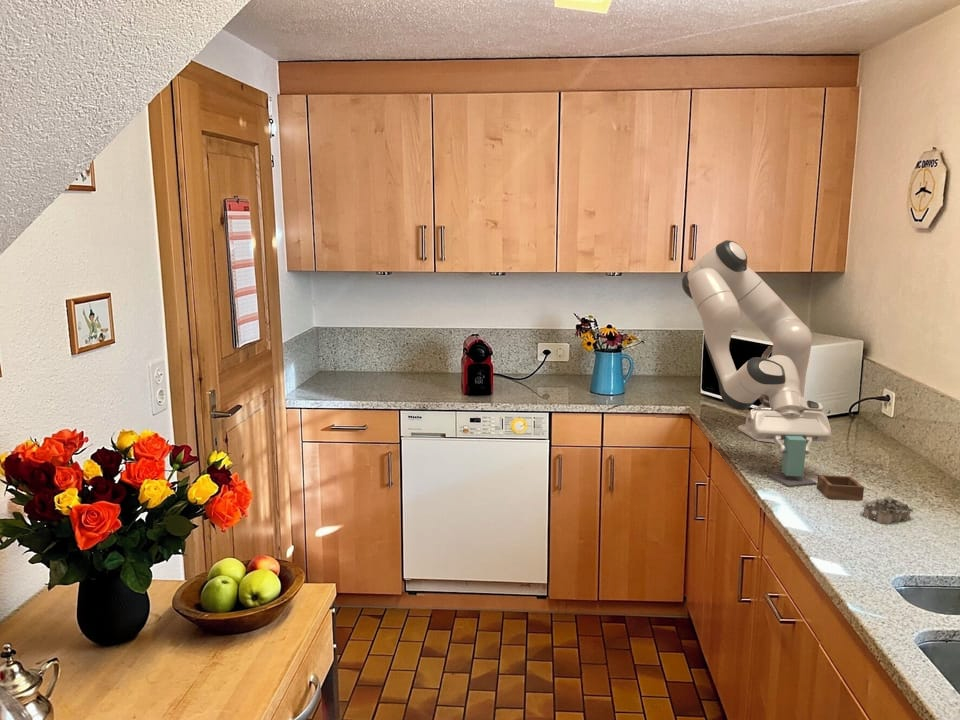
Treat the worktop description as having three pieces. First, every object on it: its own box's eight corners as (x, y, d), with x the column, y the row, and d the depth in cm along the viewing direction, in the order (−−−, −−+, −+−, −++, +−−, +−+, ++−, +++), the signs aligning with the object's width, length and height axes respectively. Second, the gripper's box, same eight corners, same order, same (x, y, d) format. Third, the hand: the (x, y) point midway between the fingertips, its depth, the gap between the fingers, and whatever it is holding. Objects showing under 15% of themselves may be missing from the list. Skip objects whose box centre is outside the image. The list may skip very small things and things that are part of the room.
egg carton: (883, 526, 177) (885, 510, 177) (856, 515, 184) (858, 499, 183) (916, 520, 182) (918, 504, 181) (888, 509, 188) (890, 493, 188)
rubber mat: (766, 476, 210) (766, 474, 210) (793, 473, 213) (793, 471, 213) (788, 487, 202) (789, 485, 202) (816, 484, 205) (816, 482, 204)
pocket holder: (816, 487, 202) (818, 474, 202) (849, 489, 201) (851, 476, 201) (828, 498, 194) (829, 485, 193) (862, 500, 193) (864, 487, 193)
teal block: (781, 470, 209) (784, 435, 208) (798, 471, 209) (801, 435, 207) (786, 475, 205) (789, 439, 203) (803, 476, 205) (806, 440, 203)
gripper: (751, 401, 211) (757, 445, 204) (828, 404, 210) (837, 448, 202) (746, 412, 217) (752, 456, 209) (821, 415, 215) (829, 460, 207)
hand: (794, 452), depth 205 cm, fingers open, 4 cm apart
